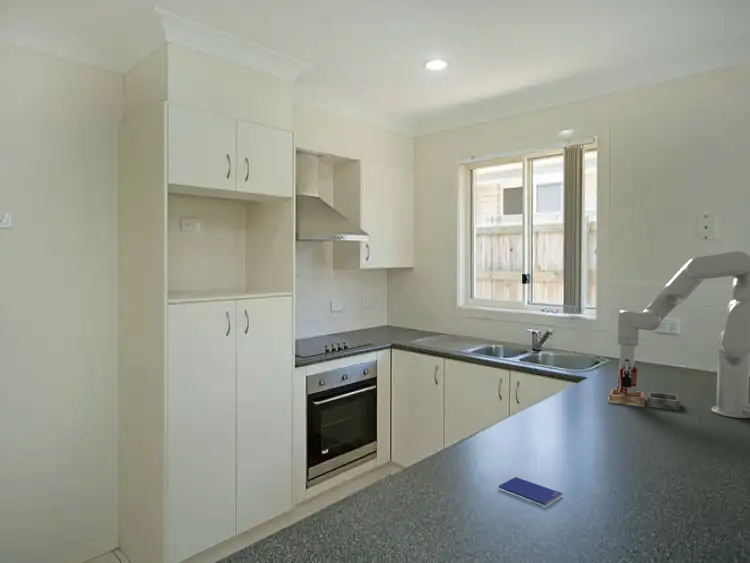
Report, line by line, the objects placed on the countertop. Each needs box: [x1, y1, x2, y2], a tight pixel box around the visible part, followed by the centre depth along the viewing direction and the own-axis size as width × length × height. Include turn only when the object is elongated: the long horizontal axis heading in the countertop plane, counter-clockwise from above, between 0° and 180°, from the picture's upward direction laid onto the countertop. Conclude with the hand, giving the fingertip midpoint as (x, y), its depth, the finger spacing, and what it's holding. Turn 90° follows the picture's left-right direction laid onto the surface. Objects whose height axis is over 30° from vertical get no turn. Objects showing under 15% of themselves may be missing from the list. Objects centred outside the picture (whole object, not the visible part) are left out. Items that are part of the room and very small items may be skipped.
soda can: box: [616, 364, 638, 396], centre depth 205 cm, size 7×7×12 cm
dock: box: [607, 388, 681, 411], centre depth 202 cm, size 25×13×4 cm, turn 62°
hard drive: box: [498, 476, 564, 507], centre depth 122 cm, size 2×8×12 cm
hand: (626, 384), depth 205 cm, fingers closed on soda can, 6 cm apart
